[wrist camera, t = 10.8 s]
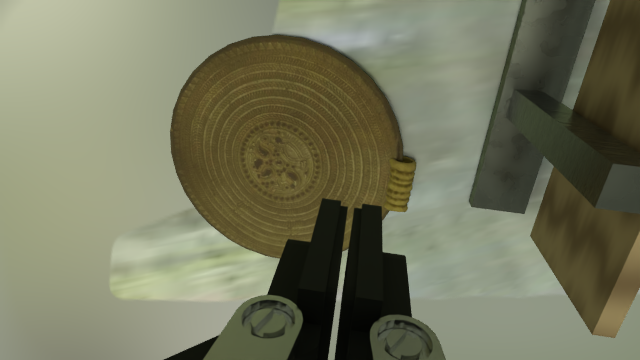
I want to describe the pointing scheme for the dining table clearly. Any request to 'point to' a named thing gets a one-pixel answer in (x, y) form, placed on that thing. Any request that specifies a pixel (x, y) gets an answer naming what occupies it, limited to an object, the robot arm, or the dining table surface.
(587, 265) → the picture frame
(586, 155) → the frame post
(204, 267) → the dining table surface
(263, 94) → the decorative disc
